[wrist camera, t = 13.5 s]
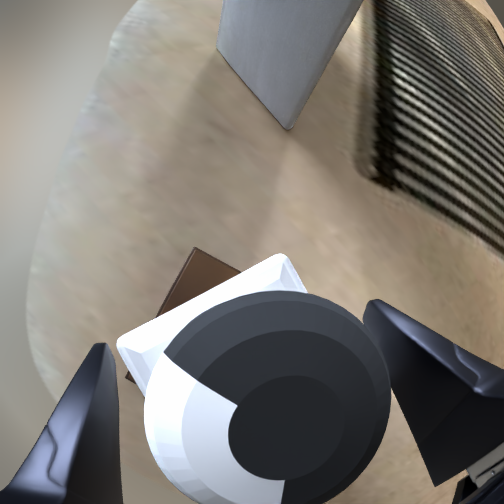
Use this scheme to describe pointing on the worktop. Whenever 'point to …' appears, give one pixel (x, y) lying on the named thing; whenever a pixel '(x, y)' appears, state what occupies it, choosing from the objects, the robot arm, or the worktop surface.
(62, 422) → the robot arm
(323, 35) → the grey house-shaped board
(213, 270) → the brown square tile
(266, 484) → the medicine bottle
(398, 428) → the worktop surface
